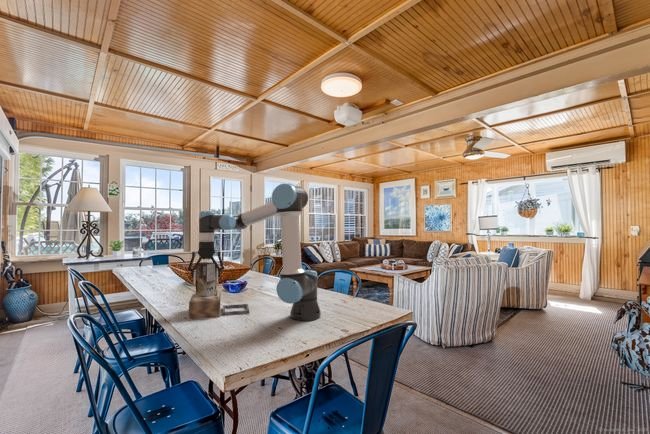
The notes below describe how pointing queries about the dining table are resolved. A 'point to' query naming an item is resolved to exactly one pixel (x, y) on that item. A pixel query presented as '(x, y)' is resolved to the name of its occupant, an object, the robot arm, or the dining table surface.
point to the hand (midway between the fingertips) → (206, 284)
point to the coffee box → (206, 278)
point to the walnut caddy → (211, 306)
